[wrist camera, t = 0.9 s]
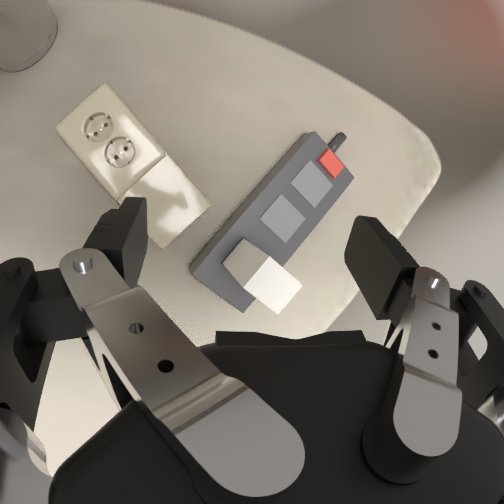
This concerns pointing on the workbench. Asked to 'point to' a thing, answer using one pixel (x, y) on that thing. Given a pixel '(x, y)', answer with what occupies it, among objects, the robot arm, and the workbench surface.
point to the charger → (261, 275)
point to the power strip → (277, 213)
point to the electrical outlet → (132, 163)
